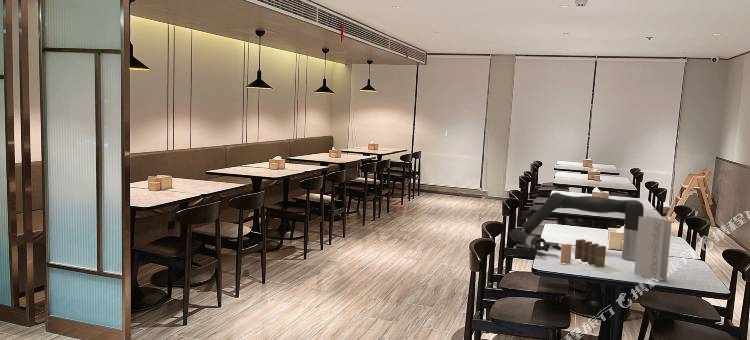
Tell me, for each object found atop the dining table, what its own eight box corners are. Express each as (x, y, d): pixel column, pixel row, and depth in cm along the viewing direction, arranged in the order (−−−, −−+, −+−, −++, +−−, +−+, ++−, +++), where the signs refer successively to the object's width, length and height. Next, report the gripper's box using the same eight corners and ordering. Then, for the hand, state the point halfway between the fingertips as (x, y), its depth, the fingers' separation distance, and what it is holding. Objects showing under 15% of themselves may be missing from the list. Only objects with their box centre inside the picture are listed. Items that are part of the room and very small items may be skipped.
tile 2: (574, 259, 313) (575, 239, 312) (581, 258, 315) (583, 239, 314) (577, 260, 311) (578, 240, 310) (584, 259, 313) (585, 240, 312)
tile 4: (587, 263, 304) (589, 243, 303) (594, 263, 306) (596, 243, 305) (590, 264, 302) (591, 244, 301) (597, 264, 304) (599, 244, 303)
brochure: (634, 274, 289) (638, 216, 286) (641, 273, 291) (646, 215, 288) (659, 282, 276) (664, 221, 273) (666, 280, 279) (671, 221, 276)
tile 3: (580, 261, 309) (582, 241, 307) (588, 260, 311) (589, 241, 309) (583, 262, 307) (585, 242, 306) (590, 261, 309) (592, 242, 308)
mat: (558, 255, 321) (558, 255, 321) (573, 254, 326) (573, 253, 325) (605, 273, 288) (605, 272, 288) (621, 271, 292) (622, 270, 292)
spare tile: (560, 264, 303) (561, 244, 302) (567, 263, 305) (569, 243, 304) (562, 265, 302) (564, 245, 300) (570, 264, 303) (571, 244, 302)
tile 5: (594, 266, 299) (595, 246, 298) (601, 265, 301) (603, 245, 300) (597, 267, 298) (598, 247, 296) (604, 266, 300) (606, 246, 298)
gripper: (525, 237, 323) (544, 243, 308) (545, 235, 329) (565, 241, 314) (525, 249, 324) (543, 256, 309) (545, 248, 330) (564, 255, 315)
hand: (554, 249), depth 312 cm, fingers open, 8 cm apart
